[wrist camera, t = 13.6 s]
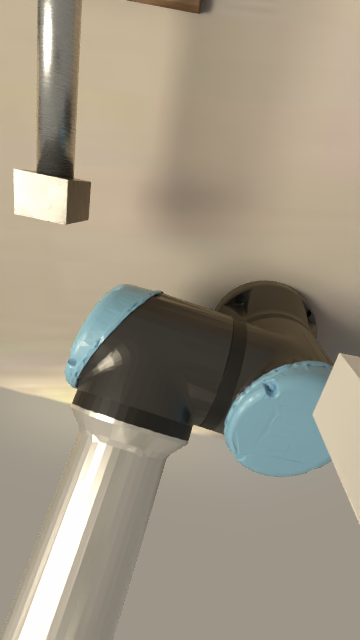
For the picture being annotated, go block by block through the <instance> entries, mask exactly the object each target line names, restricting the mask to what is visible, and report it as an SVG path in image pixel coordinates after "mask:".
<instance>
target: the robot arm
mask: <svg viewBox="0 0 360 640" xmlns="http://www.w3.org/2000/svg"><path fill="white" fill-rule="evenodd" d="M316 335H317V325H316V320H315V317H314V314H313V311H312V309H311V308H310V306H309V305H308V303H307V302H306V301H305V300H304V298H303V297H302V296H301V295H300V294H299V293H298V292H297V291H295V290H294V289H292V288H291V287H289V286H287V285H284V284H281V283H278V282H273V281H256V282H251V283H247V284H244V285H242V286H239V287H237V288H236V289H234V290H232V291H231V292H230V293H228V294H227V295H226V296H225V297H224V298H223V299H222V300H221V302H220V303H219V304H218V306H217V308H216V309H215V311H213V310H210V309H207V308H204V307H201V306H198V305H195V304H192V303H189V302H186V301H183V300H181V299H178V298H175V297H172V296H169V295H166V294H164V293H163V292H162V291H152V290H148V289H144V288H141V287H137V286H134V285H127V284H125V285H120V286H117V287H115V288H113V289H112V290H111V291H110V292H108V293H106V294H105V295H104V296H103V297H102V298H101V300H100V301H99V302H98V303H97V304H96V306H95V307H94V308H93V310H92V311H91V312H90V314H89V315H88V317H87V319H86V320H85V322H84V324H83V325H82V327H81V329H80V331H79V333H78V335H77V337H76V339H75V341H74V343H73V346H72V348H71V351H70V354H71V356H70V358H69V360H68V362H67V364H66V369H65V377H66V381H67V382H68V383H69V384H70V385H71V386H72V387H73V388H77V389H78V390H77V392H76V395H75V397H74V400H73V402H72V405H71V409H72V411H73V413H74V416H75V418H76V420H77V422H78V426H79V433H78V435H77V438H76V441H75V443H74V446H73V448H72V451H71V454H70V456H69V459H68V461H67V464H66V466H65V469H64V472H63V474H62V477H61V480H60V482H59V484H58V487H57V490H56V492H55V495H54V498H53V500H52V503H51V505H50V508H49V510H48V513H47V516H46V518H45V521H44V523H43V526H42V529H41V531H40V534H39V536H38V539H37V542H36V544H35V547H34V549H33V552H32V554H31V557H30V560H29V562H28V565H27V568H26V570H25V573H24V576H23V578H22V580H21V583H20V586H19V588H18V591H17V593H16V596H15V599H14V601H13V604H12V607H11V609H10V612H9V614H8V617H7V619H6V622H5V624H4V627H3V630H2V633H1V635H0V640H113V639H114V635H115V632H116V629H117V625H118V622H119V618H120V615H121V611H122V608H123V605H124V601H125V598H126V594H127V591H128V588H129V584H130V581H131V578H132V574H133V571H134V567H135V564H136V561H137V557H138V553H139V550H140V547H141V543H142V540H143V537H144V533H145V530H146V526H147V523H148V520H149V516H150V513H151V509H152V506H153V503H154V499H155V496H156V493H157V489H158V486H159V482H160V479H161V476H162V472H163V469H164V465H165V462H166V459H167V457H168V456H169V455H170V454H171V453H173V452H175V451H177V450H178V449H180V448H182V447H183V446H185V445H187V444H188V440H189V437H190V433H191V430H192V426H193V425H197V426H200V427H203V428H206V429H209V430H212V431H215V432H218V433H221V434H224V435H225V436H224V437H225V441H226V444H227V446H228V447H229V449H230V451H231V452H232V453H234V455H235V457H236V459H237V461H238V462H240V463H241V464H242V465H243V466H245V467H246V468H248V469H250V470H252V471H254V472H257V473H259V474H263V475H268V476H277V477H286V476H295V475H299V474H304V473H307V472H308V471H310V470H312V469H316V468H320V467H322V466H324V465H325V464H327V463H329V462H330V461H332V462H333V464H334V466H335V469H336V471H337V473H338V476H339V478H340V480H341V482H342V485H343V487H344V489H345V492H346V494H347V496H348V499H349V501H350V503H351V506H352V508H353V510H354V513H355V515H356V517H357V520H358V522H359V524H360V357H358V356H353V355H348V354H344V353H339V355H338V357H337V359H336V362H335V364H334V365H333V363H332V362H331V360H330V359H329V358H328V356H327V355H326V353H325V352H324V350H323V349H322V347H321V346H320V344H319V343H318V341H317V340H316Z"/></svg>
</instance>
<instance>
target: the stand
mask: <svg viewBox="0 0 360 640" xmlns="http://www.w3.org/2000/svg"><path fill="white" fill-rule="evenodd" d="M129 1H134V2H140V3H145V4H150V5H156V6H161V7H166V8H172V9H177V10H183V11H188V12H193V13H199V11H200V4H201V0H129Z"/></svg>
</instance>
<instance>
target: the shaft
mask: <svg viewBox="0 0 360 640" xmlns="http://www.w3.org/2000/svg"><path fill="white" fill-rule="evenodd" d="M81 13H82V0H38V4H37V171H29V170H20V169H14V206H15V214H18V215H23V216H27V217H32V218H37V219H42V220H47V221H51V222H56V223H61V224H71V223H76V222H80V221H85V220H88V218H89V203H90V189H91V182H89V181H85V180H80V179H75V178H74V160H75V139H76V118H77V97H78V76H79V55H80V34H81Z"/></svg>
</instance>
